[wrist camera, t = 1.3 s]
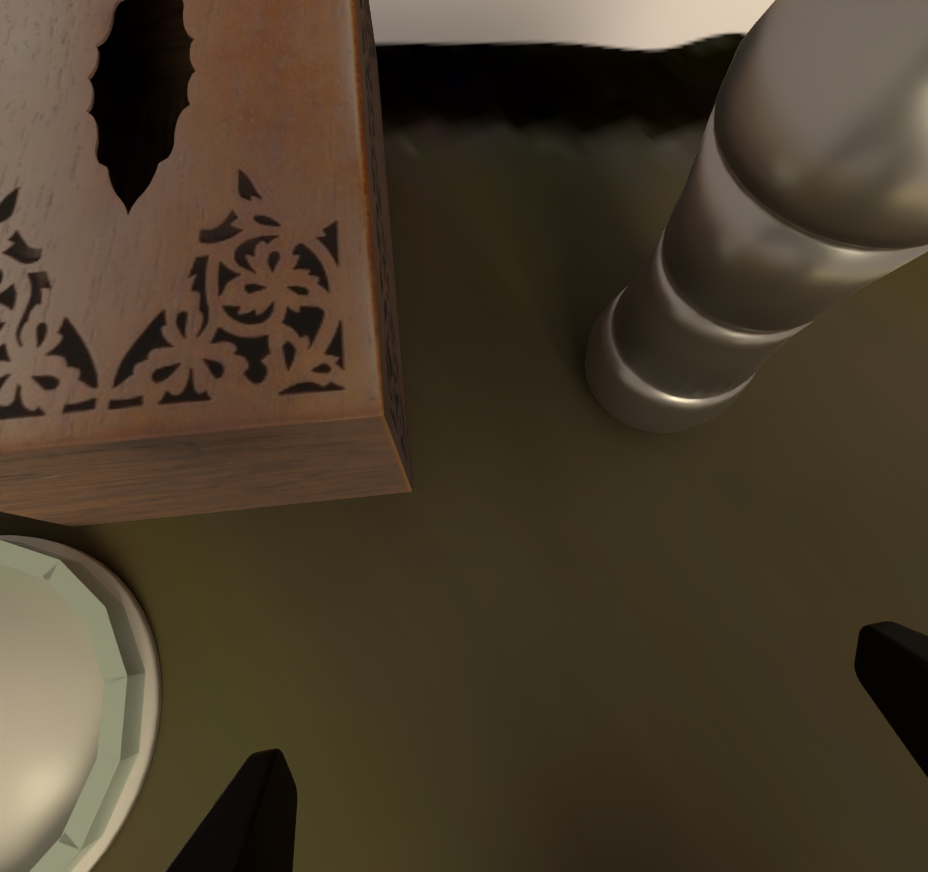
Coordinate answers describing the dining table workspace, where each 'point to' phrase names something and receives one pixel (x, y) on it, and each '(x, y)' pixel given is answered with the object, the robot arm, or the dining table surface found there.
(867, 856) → the dining table surface
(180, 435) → the tissue box cover
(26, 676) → the round tray
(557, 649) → the dining table surface
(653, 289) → the plastic bottle
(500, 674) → the dining table surface
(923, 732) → the robot arm
